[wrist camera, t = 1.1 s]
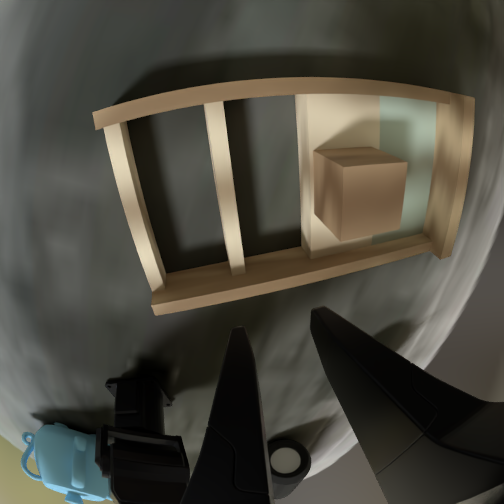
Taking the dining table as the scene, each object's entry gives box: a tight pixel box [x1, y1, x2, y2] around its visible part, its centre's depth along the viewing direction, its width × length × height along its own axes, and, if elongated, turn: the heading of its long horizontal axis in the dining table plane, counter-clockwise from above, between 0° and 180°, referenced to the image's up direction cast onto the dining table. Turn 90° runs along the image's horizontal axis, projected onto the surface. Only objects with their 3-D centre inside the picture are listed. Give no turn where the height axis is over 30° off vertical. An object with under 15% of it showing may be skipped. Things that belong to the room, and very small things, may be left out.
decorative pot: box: [21, 422, 113, 504], centre depth 29 cm, size 16×16×14 cm
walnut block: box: [313, 147, 408, 242], centre depth 17 cm, size 4×4×4 cm
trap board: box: [93, 77, 475, 316], centre depth 18 cm, size 14×25×5 cm, turn 96°
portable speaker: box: [267, 440, 311, 499], centre depth 47 cm, size 26×10×10 cm, turn 179°
